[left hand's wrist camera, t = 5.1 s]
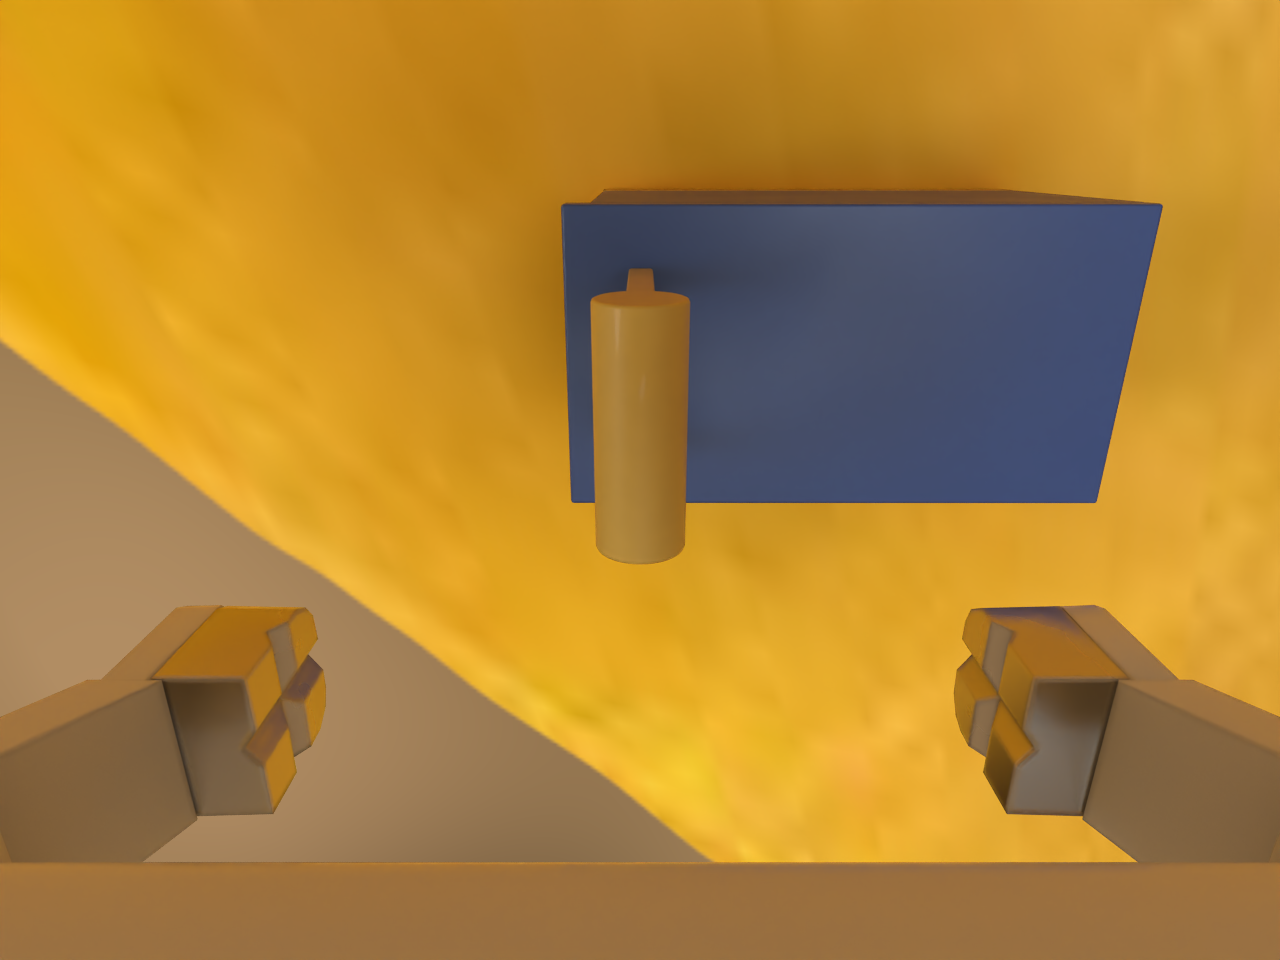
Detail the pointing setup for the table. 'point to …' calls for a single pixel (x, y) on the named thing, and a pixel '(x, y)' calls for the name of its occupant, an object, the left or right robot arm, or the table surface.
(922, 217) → the lid
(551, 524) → the table surface
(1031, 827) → the table surface
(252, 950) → the left robot arm
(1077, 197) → the chest
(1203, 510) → the table surface
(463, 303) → the table surface
